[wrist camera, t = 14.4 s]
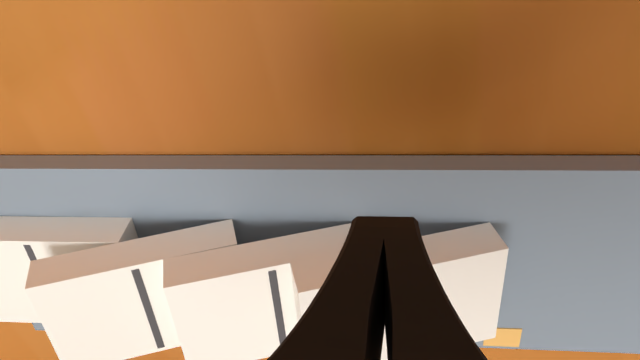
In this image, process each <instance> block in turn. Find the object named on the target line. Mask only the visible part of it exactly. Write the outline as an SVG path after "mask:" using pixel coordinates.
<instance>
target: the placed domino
mask: <svg viewBox="0 0 640 360" xmlns="http://www.w3.org/2000/svg"><path fill="white" fill-rule="evenodd" d="M422 240H423V243H424V245H425V248H426V251H427V253H428V256H429V259H430V261H431V263H432V266H433V268H434V270H435V272H436V274H437V276H438V278H439V281H440V283H441V285H442V287H443V289H444V291H445V293H446V295H447V296H448V298H449V300H450V302H451V304H452V306H453V307H454V309H455V311H456V313H457V314H458V316H459V318H460V319H461V321H462V323H463V324H464V326H465V328H466V329H467V331H468V332H469V334H470V335H471V337H472V338H473V340H474V341H475V342H479V341H483V340H487V339H492V338H495V337H496V330H497V324H498V317H499V310H500V304H501V297H502V290H503V284H504V277H505V270H506V264H507V257H508V250H509V248H508V247H507V245H506V244H505V243H504V241H503V240H502V238H501V237H500V236H499V234H498V233H497V232H496V230H495V229H494V227H493V226H492V225H491V223H490V222H488V223H483V224H478V225H474V226H469V227H464V228H459V229H454V230H449V231H444V232H439V233H434V234H430V235H425V236H422ZM338 255H339V253H337V254H332V255H327V256H322V257H317V258H312V259H307V260H302V261H298V262H293V263H290V267H291V274H292V282H293V290H294V297H295V305H296V313H297V320H298V321H299V320H300V318H301V317H302V315H303V314H304V313H305V311H306V310H307V308H308V307H309V305H310V303H311V302H312V300H313V299H314V297H315V296H316V294H317V292H318V291H319V289H320V288H321V286H322V285H323V283H324V281H325V279H326V278H327V276H328V274H329V272H330V270H331V268H332V266H333V265H334V263H335V261H336V259H337V257H338ZM381 360H388V358H387V345H386V333H385V329H384V337H383V345H382V353H381Z"/></svg>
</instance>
